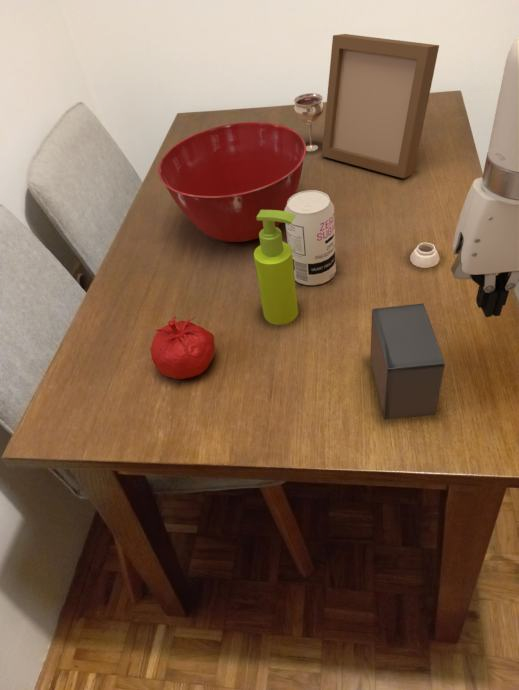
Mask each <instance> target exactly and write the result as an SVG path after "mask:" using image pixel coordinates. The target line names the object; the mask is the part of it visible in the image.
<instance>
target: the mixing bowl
mask: <svg viewBox="0 0 519 690" xmlns="http://www.w3.org/2000/svg"><path fill="white" fill-rule="evenodd" d="M306 146H307V145H306V141H305V140H304V138H303V137H302V135H300V133H298V132H297V131H296V130H294V129H292V128H290V127H288V126H286V125H282V124H279V123H274V122H267V121H242V122H241V121H240V122H233V123H228V124H223V125H218V126H215V127H214V126H213V127H211V128H207V129H204V130H201V131H199V132H197V133H194V134H192V135H190V136H188V137H186V138H184V139H182V140H181V141H179V142H178V143H176V144H174V145H173V146H172V147H171V148H170V149H169V150H168V151H166V153H165V154H164V155H163V157H162V158H161V160H160V162H159V164H158V168H157V174H158V178H159V180H160V182H161V183H162V184H163V185H164V186H165V188H166V189H167V191H168V193H169V195H170V196H171V197H172V199H173V200H174V203H176V205H177V206H178V207H179V209H180V210H181V211H182V213H183V214H184V215H185V217H187V219H188V220H189V221H190V222H191V223H192V224H193V225H194V226H195V227H196V228H197V229H199V230H200V231H201V232H202V233H203V234H204V235H206V236H208V237H210V238H212V239H214V240H217V241H220V242H221V241H222V242H227V243H243V242H249V241H253V240H258V239H259V232H260V231H261V230H262V229H264V228H263V221H260V220H257V215H258V214H259V212H260V211H261V210H279V211H284V210H285V208H286V205H287V201H288V200H289V198H290V197H291V196H293V195H294V194H296V193H297V191H298V188H299V184H300V180H301V177H302V176H301V175H302V171H303V165H304V161H305V160H304V159H305V158H306V155H307V151H306ZM274 223H275V227H277V228H278V227H279V225H281V223H282V222H277V221H274Z"/></svg>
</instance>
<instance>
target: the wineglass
mask: <svg viewBox="0 0 519 690" xmlns="http://www.w3.org/2000/svg"><path fill="white" fill-rule="evenodd" d="M323 99H324V98H323V95H322V94H320V93H319V94H318V93H314V92H309V93H308V92H307V93H303V94H300V95H298V96H296V97H295V98H294V99H293V103H294V107H293V112H294V115H295V117H296V119H297V120H299V121H301V123H304V124H306V125H307V128H308V136H309V137H308V138H309V144H308V145H306V152H315V151H316V150H318V149H319V146H318V145H317V144H313V142H312V140H313V139H312V137H313V135H312V134H313V133H312V125H313V123H314V122H316V121H318V120H319V118H321V116H322V115H323V113H324V103H323V102H322V101H323Z"/></svg>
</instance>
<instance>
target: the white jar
mask: <svg viewBox="0 0 519 690" xmlns="http://www.w3.org/2000/svg"><path fill="white" fill-rule="evenodd" d="M440 260H441V257H440V254H439V252H438V250H437V249H436V246H435V245H434V244H433V243H430V242H421V243H418V245H417V246H416V247H415V248H414V250H413V251H412V252H411V254H410V256H409V262H411V264H412V265H413V266H415V267H418V268H422V269H430V268H434V267H436V266H437V265H438V264H439V262H440Z"/></svg>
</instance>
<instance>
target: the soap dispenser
mask: <svg viewBox="0 0 519 690" xmlns="http://www.w3.org/2000/svg"><path fill="white" fill-rule="evenodd" d="M295 216H296V215H295V214H292V213H289V212H285V211H279V210H261V211H260V212H259V214H258V215H257V220H260V221H263V228H264V229H262V230H261V231H260V232H259V238H258V239H259V245H257V247H256V248H255V249H254V251H253V259H254V265H255V271H256V277H257V283H258V288H259V295H260V301H261V307H262V313H263V318H264V319H265V320H266V322H267V323H269V324H271V325H275V326H283V325H287V324H290V323H291V322H294V320H296V318H297V317H298V315H299V308H298V297H297V296H298V295H297V288H296V281H295V277H294V267H293V257H292V249H291V247H290V246H289V245H288V242H285V241H283V233H282V230H281V228H279V227H278V226H277V227H275V223H274V221H277V222H281V223H284V224H285V223H287V224H291V223H292V221H293V220H294V218H295Z"/></svg>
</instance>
